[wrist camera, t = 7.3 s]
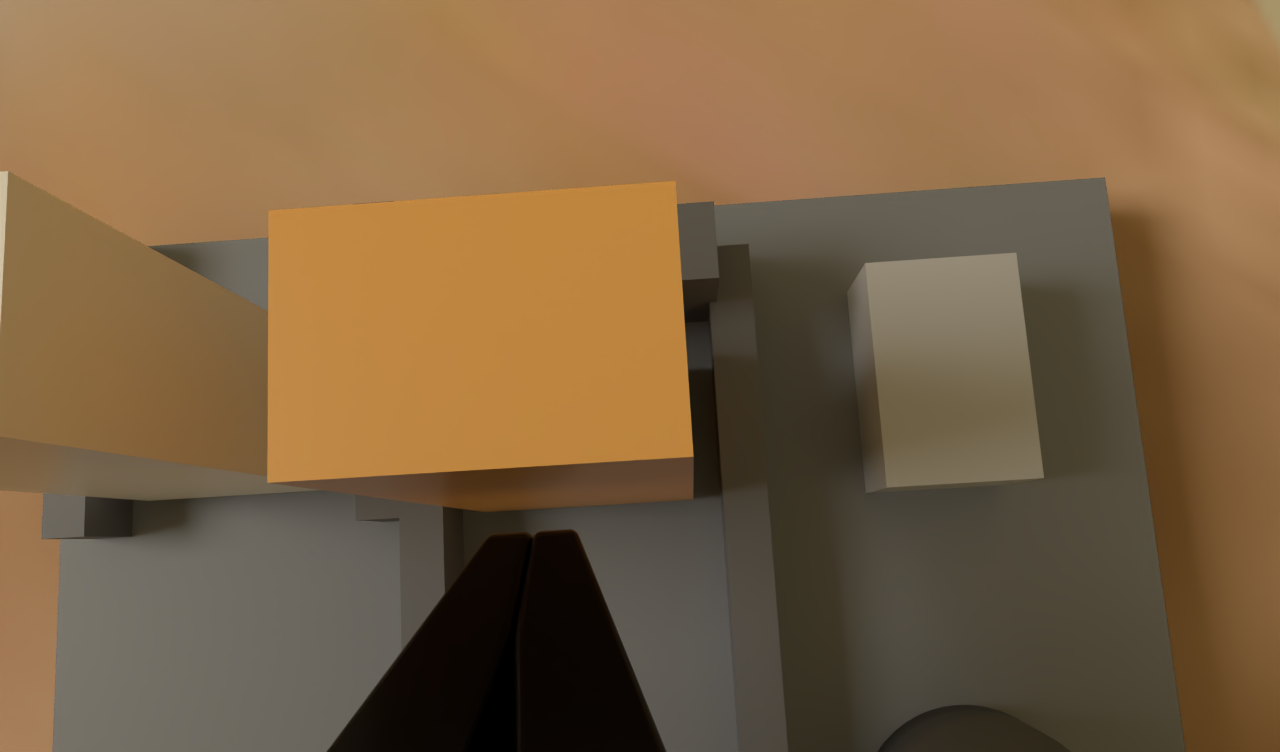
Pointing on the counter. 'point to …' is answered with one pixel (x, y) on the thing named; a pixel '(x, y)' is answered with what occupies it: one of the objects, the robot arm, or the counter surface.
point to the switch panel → (727, 516)
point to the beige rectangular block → (122, 364)
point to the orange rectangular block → (482, 349)
